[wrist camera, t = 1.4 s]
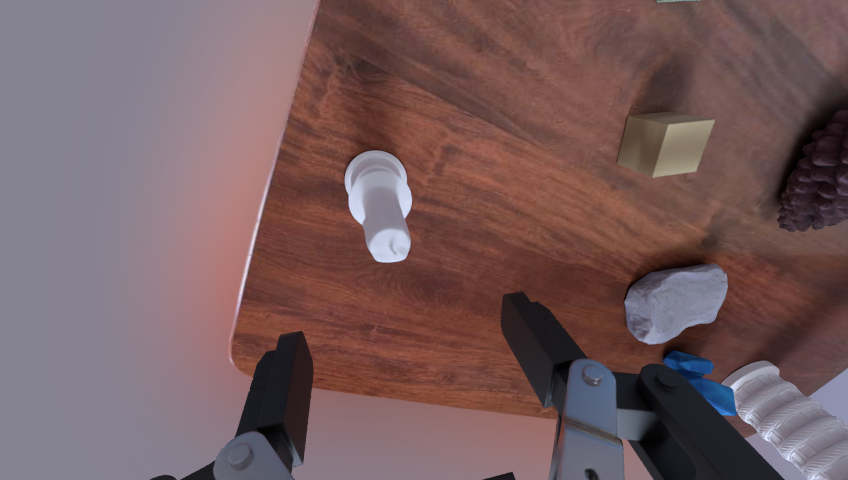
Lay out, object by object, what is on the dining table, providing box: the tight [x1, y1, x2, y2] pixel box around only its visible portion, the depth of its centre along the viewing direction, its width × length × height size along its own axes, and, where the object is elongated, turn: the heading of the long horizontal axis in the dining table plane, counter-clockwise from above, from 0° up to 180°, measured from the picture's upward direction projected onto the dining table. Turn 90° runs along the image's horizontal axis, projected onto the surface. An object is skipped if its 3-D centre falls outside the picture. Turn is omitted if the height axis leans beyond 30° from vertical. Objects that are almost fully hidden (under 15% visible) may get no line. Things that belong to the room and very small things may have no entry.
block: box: [617, 111, 715, 177], centre depth 30 cm, size 4×4×4 cm
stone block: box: [624, 264, 728, 344], centre depth 42 cm, size 12×5×10 cm
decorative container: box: [721, 361, 848, 480], centre depth 54 cm, size 12×12×18 cm
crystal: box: [663, 350, 737, 416], centre depth 49 cm, size 7×9×12 cm
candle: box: [345, 150, 412, 262], centre depth 23 cm, size 5×5×12 cm
